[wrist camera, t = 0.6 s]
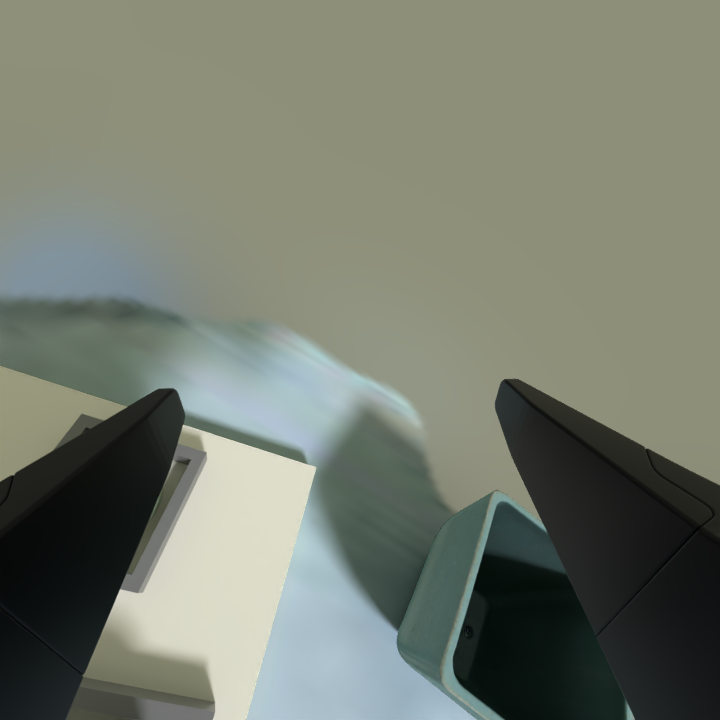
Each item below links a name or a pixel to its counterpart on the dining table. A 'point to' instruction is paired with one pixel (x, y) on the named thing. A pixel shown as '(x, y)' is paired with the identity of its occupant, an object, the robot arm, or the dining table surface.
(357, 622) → the dining table surface
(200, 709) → the button panel
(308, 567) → the dining table surface
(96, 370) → the dining table surface
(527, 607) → the flower pot
